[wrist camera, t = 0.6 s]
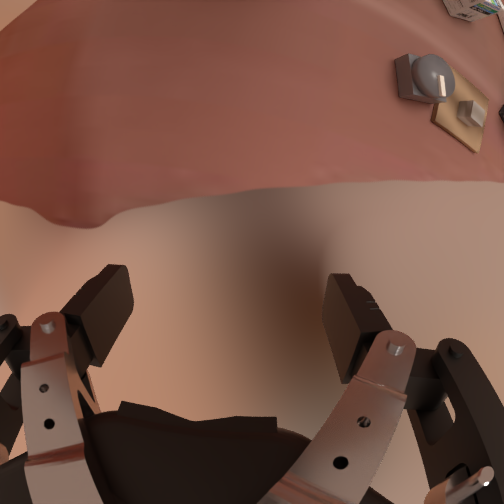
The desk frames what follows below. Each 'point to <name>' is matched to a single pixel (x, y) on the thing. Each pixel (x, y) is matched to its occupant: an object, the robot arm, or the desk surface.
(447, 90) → the knob
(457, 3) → the light bulb box
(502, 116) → the small box
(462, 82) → the shaft base
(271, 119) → the desk surface
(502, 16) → the photo printer
